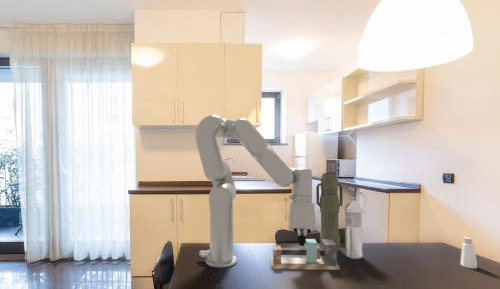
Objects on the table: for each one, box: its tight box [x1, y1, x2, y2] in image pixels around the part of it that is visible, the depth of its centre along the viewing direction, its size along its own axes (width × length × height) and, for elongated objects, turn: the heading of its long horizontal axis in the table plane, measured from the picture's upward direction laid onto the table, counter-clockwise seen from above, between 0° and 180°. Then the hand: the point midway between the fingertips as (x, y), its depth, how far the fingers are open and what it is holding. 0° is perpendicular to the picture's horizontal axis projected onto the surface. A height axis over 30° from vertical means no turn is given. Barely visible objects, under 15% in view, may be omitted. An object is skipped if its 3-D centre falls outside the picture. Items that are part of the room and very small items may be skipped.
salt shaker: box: [459, 236, 478, 269], centre depth 107 cm, size 5×5×11 cm
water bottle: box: [344, 197, 363, 260], centre depth 117 cm, size 7×7×25 cm
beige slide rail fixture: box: [269, 239, 341, 271], centre depth 108 cm, size 26×9×9 cm, turn 88°
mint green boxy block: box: [304, 238, 318, 262], centre depth 108 cm, size 4×5×8 cm
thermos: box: [315, 172, 344, 253], centre depth 126 cm, size 9×12×35 cm
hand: (301, 244), depth 108 cm, fingers closed
